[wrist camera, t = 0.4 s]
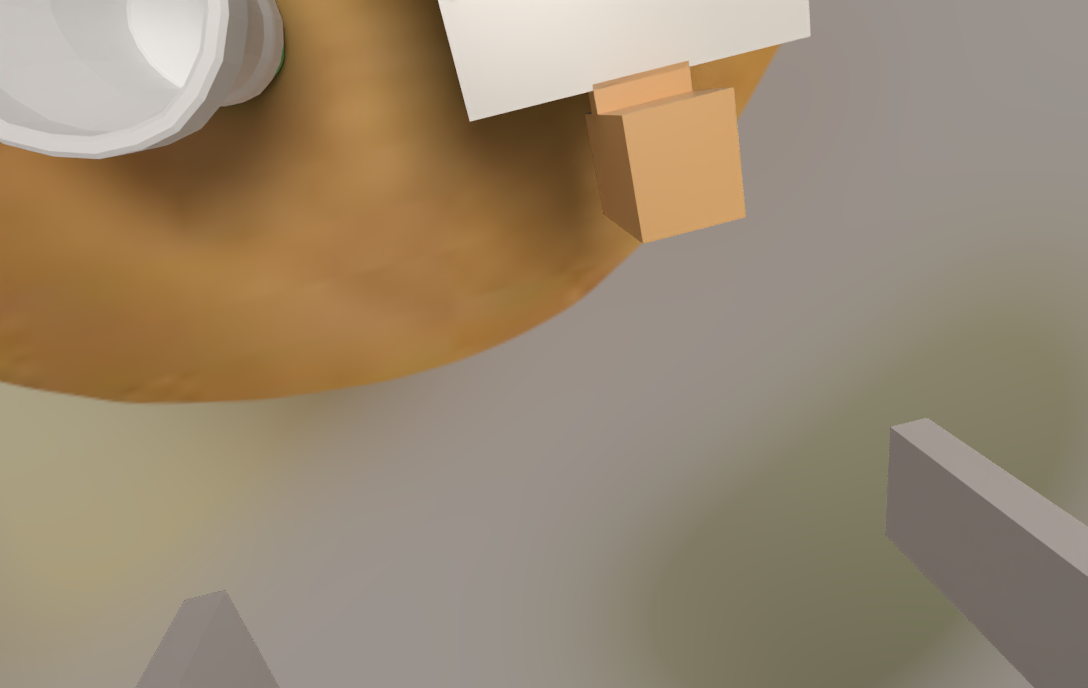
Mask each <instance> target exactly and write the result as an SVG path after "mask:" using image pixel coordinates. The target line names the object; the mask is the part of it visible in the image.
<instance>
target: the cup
mask: <svg viewBox="0 0 1088 688" xmlns="http://www.w3.org/2000/svg"><path fill="white" fill-rule="evenodd" d="M283 59H284V38H283V21H282V18H281V15H280V13H279V10H278V7H277V5H276V2H275V0H0V142H1V143H3V144H6V145H10V146H14V147H18V148H22V149H26V150H30V151H34V152H37V153H41V154H45V155H49V156H54V157H72V158H89V159H103V158H108V157H114V156H119V155H125V154H130V153H135V152H139V151H144V150H148V149H153V148H158V147H162V146H167V145H170V144H172V143H174V142H176V141H178V140H180V139H182V138H184V137H186V136H188V135H190V134H192V133H194V132H196V131H198V130H200V129H202V128H203V126H204V125H205V124H206V123H207V122H208V120H209V119H210V118H211V117H212V116H213V114H214V113H215V112H216V111H217V110H218V108H219V107H220V106H230V105H236V104H239V103H243V102H245V101H247V100H249V99H251V98H253V97H255V96H257V95H260V94H261V93H262V91H263V90H264V89H265V88H266V87H267V86H268V84H269V83H270V82H271V81H272V79H273V78H274V77H275V75H276V74H277V73H278V72H279V70H280V68H281V66H282V64H283Z"/></svg>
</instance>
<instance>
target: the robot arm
mask: <svg viewBox="0 0 1088 688" xmlns="http://www.w3.org/2000/svg"><path fill="white" fill-rule="evenodd" d="M888 466H889V467H888V487H887V510H886V531H885V532H886V533H885V535H886V536H887V537H888V538H889V539H890V540H891V541H892V542H893V543H894V544H895V545H896V547H897V548H899V550H900V551H901V552H902V553H903V554H904V555H905V556H906V557H907V558H908V559H909V560H910V561H911V562H912V563H913V564H914V565H915V566H916V567H917V568H918V569H919V570H920V571H921V572H922V573H923V574H924V575H925V576H926V577H927V578H928V579H929V580H930V581H931V582H932V583H933V584H934V585H935V586H936V587H937V588H938V589H939V590H940V592H941V593H942V594H943V595H944V596H945V597H946V598H947V599H948V600H949V601H950V602H951V603H952V604H953V605H954V606H955V607H956V608H957V609H958V610H959V611H960V612H961V613H962V614H963V615H964V616H965V617H966V618H967V619H968V620H969V621H970V622H971V623H972V624H973V625H974V626H975V627H976V628H977V629H978V630H979V631H980V632H981V633H982V635H983V636H984V637H985V638H986V639H987V640H988V641H989V642H990V643H991V644H992V645H993V646H994V647H995V648H997V650H998V651H999V652H1000V653H1001V654H1002V655H1003V656H1004V657H1005V658H1006V659H1007V660H1008V661H1009V662H1010V663H1011V664H1012V665H1013V666H1014V667H1015V668H1016V669H1017V670H1018V671H1019V672H1020V673H1021V674H1022V675H1023V676H1024V677H1025V678H1026V680H1027V681H1028V682H1029V683H1030V684H1031V685H1032V686H1033V687H1034V688H1088V527H1087V526H1086V525H1084V524H1083V523H1081V522H1080V521H1078V520H1077V519H1075V518H1074V517H1072V516H1071V515H1070V514H1068V513H1067V512H1065V511H1063V510H1062V509H1061V508H1059V507H1058V506H1056V505H1055V504H1053V503H1052V502H1050V501H1049V500H1047V499H1046V498H1044V497H1043V496H1042V495H1040V494H1039V493H1037V492H1036V491H1034V490H1033V489H1031V488H1029V487H1028V486H1027V485H1025V484H1024V483H1022V482H1021V481H1019V480H1018V479H1016V478H1015V477H1014V476H1012V475H1011V474H1009V473H1008V472H1006V471H1005V470H1003V469H1002V468H1000V467H999V466H997V465H996V464H994V463H993V462H991V461H990V460H988V459H987V458H985V457H984V456H983V455H981V454H980V453H978V452H977V451H975V450H973V449H972V448H971V447H969V446H968V445H966V444H965V443H963V442H962V441H960V440H959V439H957V438H956V437H955V436H953V435H952V434H950V433H948V432H947V431H946V430H944V429H943V428H941V427H940V426H938V425H937V424H935V423H934V422H932V421H931V420H930V419H928V418H925V419H921V420H916V421H912V422H908V423H904V424H900V425H896V426H892V427H890V443H889V465H888ZM136 688H279V686H278V684H277V682H276V681H275V679H274V677H273V676H272V673H271V671H270V670H269V668H268V666H267V664H266V662H265V661H264V659H263V657H262V655H261V653H260V652H259V650H258V648H257V646H256V644H255V643H254V641H253V639H252V637H251V635H250V634H249V632H248V630H247V628H246V626H245V625H244V623H243V621H242V619H241V617H240V615H239V614H238V612H237V610H236V608H235V606H234V605H233V603H232V601H231V599H230V598H229V595H228V594H227V592H226V590H223V591H219V592H216V593H211V594H207V595H203V596H199V597H195V598H191V599H187V600H184V602H183V604H182V606H181V607H180V609H179V611H178V613H177V615H176V617H175V618H174V620H173V622H172V623H171V625H170V627H169V629H168V631H167V633H166V634H165V636H164V638H163V640H162V641H161V643H160V645H159V647H158V649H157V650H156V652H155V654H154V656H153V658H152V659H151V661H150V663H149V665H148V667H147V668H146V670H145V672H144V674H143V676H142V677H141V679H140V681H139V683H138V684H137V686H136Z"/></svg>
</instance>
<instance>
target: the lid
mask: <svg viewBox="0 0 1088 688" xmlns="http://www.w3.org/2000/svg"><path fill="white" fill-rule="evenodd" d="M438 2H439V6H440V10H441V14H442V18H443V22H444V25H445V29H446V33H447V37H448V41H449V44H450V48H451V52H452V56H453V60H454V64H455V67H456V71H457V75H458V79H459V83H460V86H461V90H462V94H463V98H464V102H465V106H466V109H467V113H468V117H469V121H470V122H471V121H475V120H478V119H482V118H486V117H490V116H494V115H498V114H502V113H506V112H510V111H514V110H518V109H522V108H526V107H530V106H534V105H538V104H542V103H546V102H550V101H554V100H558V99H562V98H566V97H570V96H574V95H578V94H582V93H586V92H588V95H589V100H590V106H591V111H592V112H591V113H587V114H585V119H586V124H587V130H588V135H589V140H590V146H591V151H592V156H593V161H594V167H595V172H596V177H597V183H598V188H599V193H600V199H601V204H602V209H603V214H604V215H606V216H607V217H608V218H610V219H611V220H612V221H614V222H615V223H616V224H618V225H619V226H620V227H622V228H623V229H624V230H626V231H627V232H628V233H630V234H631V235H632V236H634V237H635V238H636V239H638V240H639V241H640V242H642V243H643V244H644V243H648V242H652V241H655V240H659V239H663V238H667V237H671V236H675V235H679V234H682V233H686V232H690V231H694V230H698V229H702V228H706V227H709V226H713V225H717V224H721V223H725V222H729V221H733V220H736V219H740V218H744V217H746V213H745V203H744V192H743V181H742V171H741V160H740V150H739V139H738V128H737V117H736V107H735V96H734V87H732V88H719V89H707V90H695V91H692V83H691V75H690V66H694V65H698V64H702V63H706V62H710V61H714V60H718V59H722V58H726V57H730V56H734V55H737V54H741V53H745V52H749V51H753V50H757V49H761V48H765V47H769V46H773V45H777V44H781V43H785V42H789V41H793V40H797V39H801V38H805V37H809V36H810V15H809V0H438Z"/></svg>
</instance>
